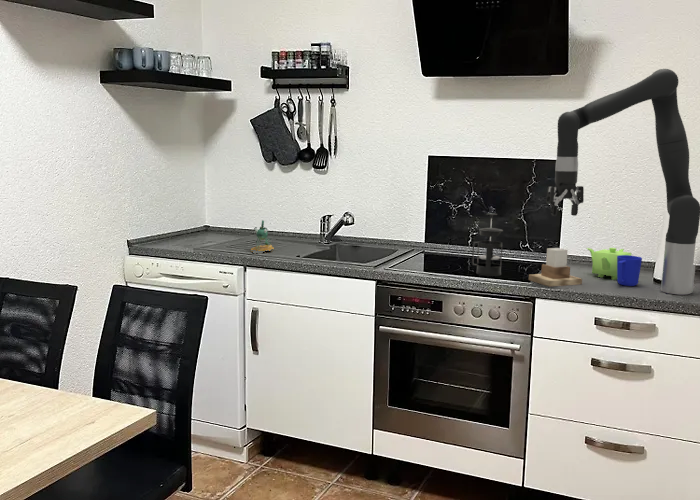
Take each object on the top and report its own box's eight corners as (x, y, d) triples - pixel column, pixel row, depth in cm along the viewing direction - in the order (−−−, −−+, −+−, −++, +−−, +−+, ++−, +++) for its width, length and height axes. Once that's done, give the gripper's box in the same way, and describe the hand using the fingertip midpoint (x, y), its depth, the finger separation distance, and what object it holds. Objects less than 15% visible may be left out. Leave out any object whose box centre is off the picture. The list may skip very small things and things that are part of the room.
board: (560, 277, 259) (560, 272, 258) (581, 284, 248) (582, 278, 247) (528, 279, 254) (528, 274, 253) (549, 286, 243) (549, 281, 242)
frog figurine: (283, 249, 312) (281, 217, 308) (262, 259, 296) (261, 226, 293) (264, 247, 316) (262, 215, 312) (243, 257, 300) (241, 224, 296)
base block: (556, 274, 255) (557, 263, 254) (569, 278, 248) (570, 266, 248) (541, 275, 252) (541, 264, 252) (553, 279, 246) (554, 267, 245)
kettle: (584, 273, 269) (586, 244, 267) (620, 273, 269) (622, 245, 268) (599, 281, 254) (602, 250, 252) (637, 281, 255) (640, 251, 253)
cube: (557, 264, 253) (558, 247, 252) (566, 266, 248) (567, 250, 247) (546, 264, 251) (547, 248, 250) (554, 267, 246) (555, 250, 245)
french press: (503, 272, 267) (507, 212, 264) (502, 276, 258) (505, 215, 255) (473, 270, 270) (475, 211, 267) (470, 274, 262) (473, 213, 258)
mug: (606, 285, 246) (608, 257, 244) (621, 281, 254) (623, 254, 253) (628, 289, 240) (631, 261, 239) (643, 285, 249) (646, 257, 247)
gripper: (556, 170, 238) (554, 217, 241) (590, 170, 243) (587, 216, 246) (543, 169, 245) (540, 215, 247) (575, 169, 250) (573, 214, 253)
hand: (564, 215), depth 247 cm, fingers open, 8 cm apart
